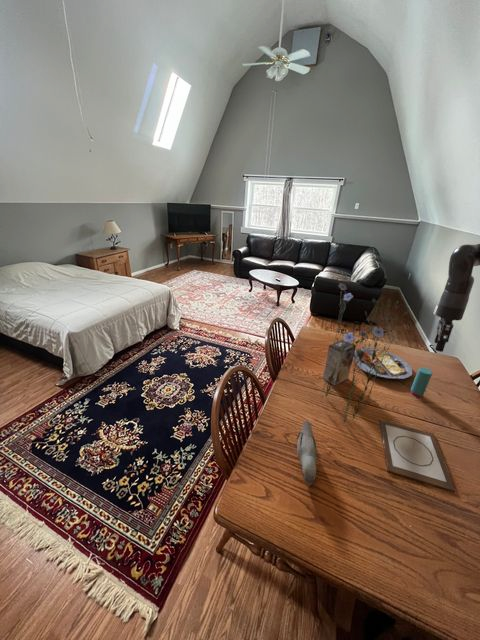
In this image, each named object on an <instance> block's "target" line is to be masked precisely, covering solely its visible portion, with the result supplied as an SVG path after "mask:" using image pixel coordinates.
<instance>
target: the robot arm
mask: <svg viewBox="0 0 480 640" xmlns="http://www.w3.org/2000/svg"><path fill="white" fill-rule="evenodd" d="M478 266H480V243H477V244H466V243H465V244H461V245H459V246H457V247H456V248H455V249H454V250H453V251H452V253H451V255H450V258H449V262H448V274H447V275H448V276H447V280H446V282H445V283H446V284H445V286H444V290H443V292H442V294H441V296H440V298H439V302H438V304H437V305H438V306H437V307H436V311H435V315H436V316H437V317H438V318H440V320H438V324H437V327H436V335H435V338H434V343H435V344H436V345H435V347H434V350H435V351H436V352H441V353H442V352H444V349H445V347H446V343H449V340H450V337H451V334H452V331H453V329H454V322H453V321H461V320H463V317H464V315H465V311H466V309H467V306H468V303H469V300H470V295H471V292H472V290H473V286H474V283H475V277H474V276H473V271H474V267H478Z"/></svg>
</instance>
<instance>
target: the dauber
mask: <svg viewBox="0 0 480 640" xmlns="http://www.w3.org/2000/svg"><path fill="white" fill-rule="evenodd" d="M432 375H433V371H432V370H431V369H429V368H427V367H423V366H421V367H418V370H417V372H416V374H415V378H414V380H413V382H412V385H411V387H410V394H411V395H412V396H414V397H416V398H421V397H422V396H424V394H425V392H426V389H427V387H428V385H429V382H430V381H431V378H432Z"/></svg>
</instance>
